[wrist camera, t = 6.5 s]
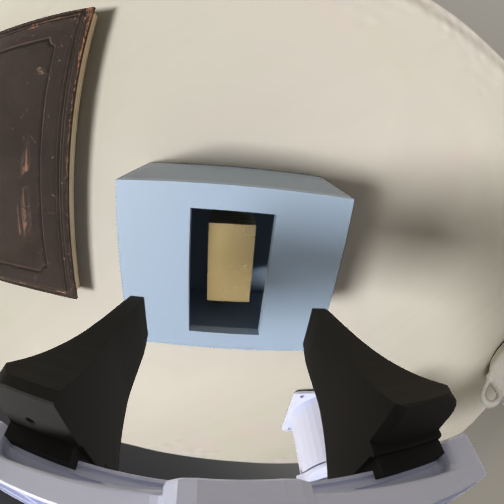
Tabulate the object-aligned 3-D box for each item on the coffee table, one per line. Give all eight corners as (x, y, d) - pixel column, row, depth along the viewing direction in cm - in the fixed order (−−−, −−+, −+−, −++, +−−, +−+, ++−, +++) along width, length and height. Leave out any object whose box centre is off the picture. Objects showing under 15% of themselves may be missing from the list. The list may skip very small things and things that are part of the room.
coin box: (320, 176, 20) (354, 199, 14) (297, 297, 24) (315, 350, 18) (150, 162, 19) (115, 179, 13) (151, 287, 23) (129, 339, 17)
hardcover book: (105, 15, 14) (93, 6, 12) (86, 286, 23) (76, 299, 21) (-22, 48, 12) (-37, 47, 10) (-24, 260, 22) (-36, 270, 19)
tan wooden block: (251, 204, 20) (256, 225, 16) (246, 268, 22) (249, 302, 18) (213, 202, 20) (208, 222, 16) (211, 267, 22) (207, 300, 18)
